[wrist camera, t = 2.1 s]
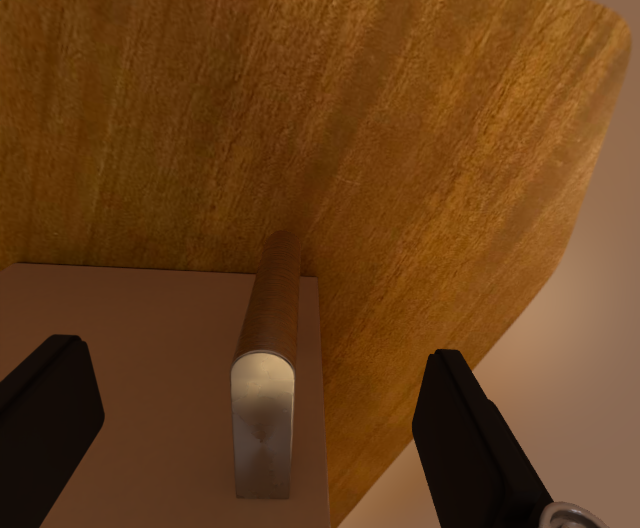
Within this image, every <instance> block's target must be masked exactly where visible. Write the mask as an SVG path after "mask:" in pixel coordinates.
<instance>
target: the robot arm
mask: <svg viewBox="0 0 640 528" xmlns="http://www.w3.org/2000/svg"><path fill="white" fill-rule="evenodd" d="M104 419H105V412H104V408H103V404H102V400H101V396H100V392H99V388H98V384H97V380H96V376H95V372H94V368H93V364H92V360H91V356H90V352H89V348H88V345H87V343H86V342H85V341H82V339H81V338H80V337H79V336H78V335H64V334H54V335H51V336H50V337H48V338H47V339H46V340H45V341H44V342H43V343H42V344H41V345H40V346H38V347H37V348H36V349H35V350H34V351H33V352H32V353H31V354H30V355H29V356H28V357H27V358H26V359H24V360H23V361H22V362H21V363H20V364H19V365H18V366H17V367H16V368H15V369H14V370H13V371H12V372H10V373H9V374H8V375H7V376H6V377H5V378H4V379H3V380H2V381H1V382H0V528H39V527H40V526H41V524H42V523H43V521H44V519H45V518H46V516H47V515H48V513H49V511H50V510H51V508H52V507H53V505H54V503H55V502H56V500H57V499H58V497H59V495H60V494H61V492H62V491H63V489H64V487H65V486H66V484H67V483H68V481H69V479H70V478H71V476H72V475H73V473H74V471H75V470H76V468H77V466H78V465H79V463H80V462H81V460H82V458H83V457H84V455H85V454H86V452H87V450H88V449H89V447H90V446H91V444H92V442H93V441H94V439H95V438H96V436H97V434H98V433H99V431H100V430H101V428H102V426H103V423H104ZM412 433H413V437H414V440H415V444H416V447H417V450H418V453H419V457H420V460H421V463H422V466H423V470H424V473H425V476H426V480H427V483H428V486H429V490H430V493H431V496H432V499H433V503H434V506H435V509H436V512H437V516H438V519H439V522H440V526H441V528H609V527H608V526H607V525H606V524H605V523H604V522H603V521H602V520H600V519H599V518H598V517H596V516H595V515H593V514H592V513H590V512H589V511H588V510H585V509H583V508H581V507H579V506H577V505H575V504H571V503H566V502H554V501H553V500H552V498H551V496H550V495H549V493H548V491H547V490H546V488H545V486H544V485H543V483H542V481H541V480H540V478H539V477H538V475H537V473H536V471H535V470H534V468H533V466H532V465H531V463H530V461H529V460H528V458H527V456H526V455H525V453H524V451H523V450H522V448H521V446H520V445H519V443H518V442H517V440H516V438H515V436H514V435H513V433H512V431H511V430H510V428H509V426H508V425H507V423H506V422H505V420H504V418H503V416H502V415H501V413H500V412H499V410H498V408H497V407H496V405H495V404H494V403H493V402H492V401H491V400H489V399H487V397H486V395H485V393H484V392H483V390H482V388H481V387H480V385H479V383H478V381H477V380H476V378H475V376H474V375H473V373H472V371H471V370H470V368H469V366H468V364H467V363H466V361H465V359H464V358H463V356H462V354H461V353H460V351H458V350H450V349H437V350H436V351H435V353H434V354H430V355H429V357H428V360H427V364H426V368H425V372H424V376H423V381H422V385H421V389H420V393H419V397H418V401H417V405H416V409H415V413H414V417H413V421H412Z"/></svg>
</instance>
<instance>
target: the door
mask: <svg viewBox="0 0 640 528" xmlns="http://www.w3.org/2000/svg"><path fill="white" fill-rule="evenodd" d="M300 265H301V243H300V241H299V239H298V237H297V236H296V235H295V234H293V233H291V232H289V231H284V230H280V231H276V232H274V233H272V234H271V235H269V236H268V238H267V239H266V242H265V245H264V249H263V252H262V256H261V260H260V263H259V267H258V270H257V274H238V273H217V272H196V271H174V270H153V269H132V268H111V267H90V266H69V265H48V264H26V263H14V264H12V265H10V266H9V267H7V268H5V269H4V270H2V271H0V382H1V381H2V380H3V379H4V378H5V377H6V376H7V375H8V374H9V373H10V372H12V371H13V370H14V369H15V368H16V367H17V366H18V365H19V364H20V363H21V362H22V361H23V360H24V359H26V358H27V357H28V356H29V355H30V354H31V353H32V352H33V351H34V350H35V349H36V348H37V347H38V346H40V345H41V344H42V343H43V342H44V341H45V340H46V339H47V338H48V337H50V336H51V335H54V334H64V335H78V336H79V337H80V338H81V339H82V341H85V342H86V343H87V345H88V348H89V352H90V356H91V360H92V364H93V368H94V372H95V376H96V380H97V384H98V388H99V392H100V396H101V400H102V404H103V408H104V412H105V419H104V423H103V426H102V428H101V430H100V431H99V433H98V434H97V436H96V438H95V439H94V441H93V442H92V444H91V446H90V447H89V449H88V450H87V452H86V454H85V455H84V457H83V458H82V460H81V462H80V463H79V465H78V466H77V468H76V470H75V471H74V473H73V475H72V476H71V478H70V479H69V481H68V483H67V484H66V486H65V487H64V489H63V491H62V492H61V494H60V495H59V497H58V499H57V500H56V502H55V503H54V505H53V507H52V508H51V510H50V511H49V513H48V515H47V516H46V518H45V519H44V521H43V523H42V524H41V526H40V527H39V528H330V514H329V494H328V475H327V455H326V435H325V415H324V395H323V375H322V355H321V336H320V316H319V296H318V278H317V277H301V276H300Z"/></svg>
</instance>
